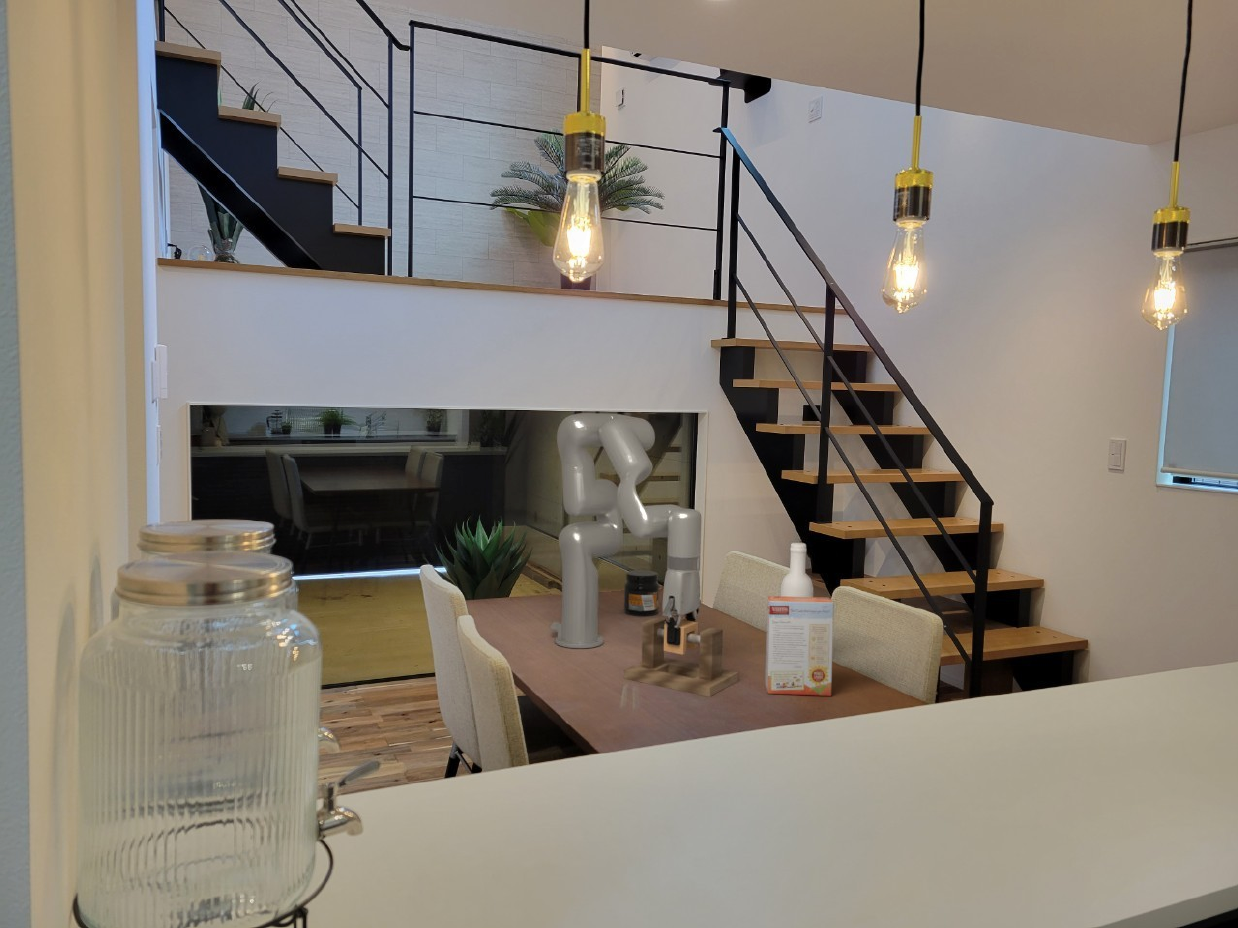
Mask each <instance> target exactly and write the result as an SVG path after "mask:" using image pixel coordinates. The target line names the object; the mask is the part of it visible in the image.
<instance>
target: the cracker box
mask: <svg viewBox="0 0 1238 928" xmlns="http://www.w3.org/2000/svg"><path fill="white" fill-rule="evenodd" d="M766 598H767V600H766V604H767V606H766V636H765V638H766V639H765V640H766V643H765V645H766V646H765V647H766V648H765V650H766V651H765V690H766V692H767V694H768V695H794V696H795V695H797V696H799V695H800V696H802V695H803V696H819V697H820V696H823V697H827V696H828V697H830V696H832V681H833V643H834V641H833V640H834V639H833V638H834V607H835V603H834V602H833V600H832V599H831V598H830V597H821V596H819V597H818V596H817V597H815V596H813V597H787V596H781V595H778V596H777V595H774V596H773V595H768V596H767V597H766Z"/></svg>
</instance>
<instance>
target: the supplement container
mask: <svg viewBox="0 0 1238 928" xmlns="http://www.w3.org/2000/svg"><path fill="white" fill-rule="evenodd" d="M658 574H659V573H658V572H656V571H651V570H643V569H642V570H640V569H639V570H630V571H627V572H626V573H625V580H626V581H625V583H624V584H623V587H624V593H623V594H624V595H623V596H624V598H623V604H624V605H623V610H624V612H625V614H628V615H630V616H638V617H649V616H653V615H656V614H657V613H658V612H659V609H660V608H659V601H660V599H659V596H660V595H659V593H660V584H659V583H658V581H659V575H658Z"/></svg>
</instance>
